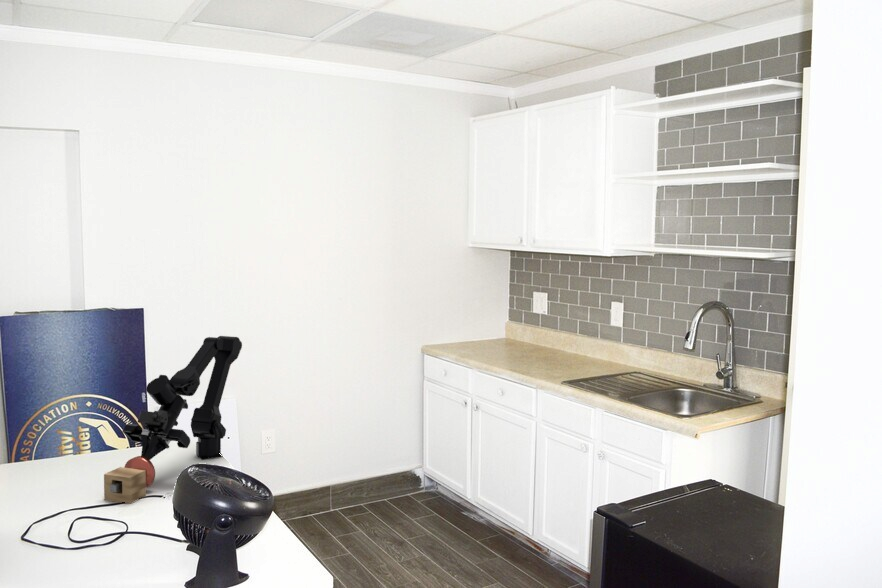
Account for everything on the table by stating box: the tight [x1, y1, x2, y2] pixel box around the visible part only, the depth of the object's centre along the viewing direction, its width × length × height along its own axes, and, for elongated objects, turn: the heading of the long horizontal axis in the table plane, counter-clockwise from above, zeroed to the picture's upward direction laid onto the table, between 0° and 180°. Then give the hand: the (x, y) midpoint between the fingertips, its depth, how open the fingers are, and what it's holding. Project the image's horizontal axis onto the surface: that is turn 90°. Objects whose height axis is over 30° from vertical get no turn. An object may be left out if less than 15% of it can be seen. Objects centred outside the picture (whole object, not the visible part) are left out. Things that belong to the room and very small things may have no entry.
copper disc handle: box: [110, 455, 156, 492], centre depth 185 cm, size 11×9×9 cm
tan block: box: [103, 466, 147, 505], centre depth 184 cm, size 6×8×7 cm
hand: (142, 463), depth 190 cm, fingers closed, pressing on copper disc handle
